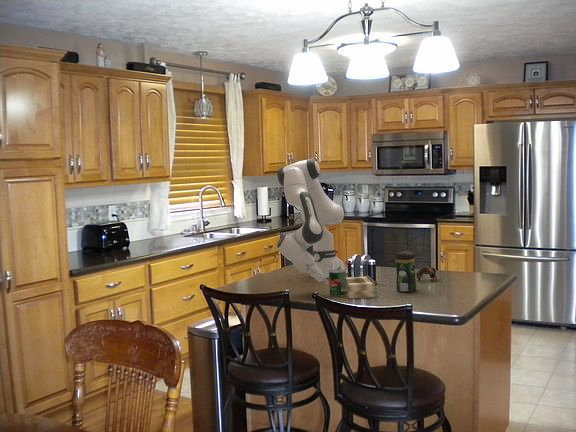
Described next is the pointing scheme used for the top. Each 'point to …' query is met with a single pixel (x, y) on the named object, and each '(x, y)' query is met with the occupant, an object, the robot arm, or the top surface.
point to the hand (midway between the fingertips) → (328, 283)
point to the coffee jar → (405, 271)
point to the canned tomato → (337, 282)
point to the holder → (360, 287)
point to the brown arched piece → (427, 271)
